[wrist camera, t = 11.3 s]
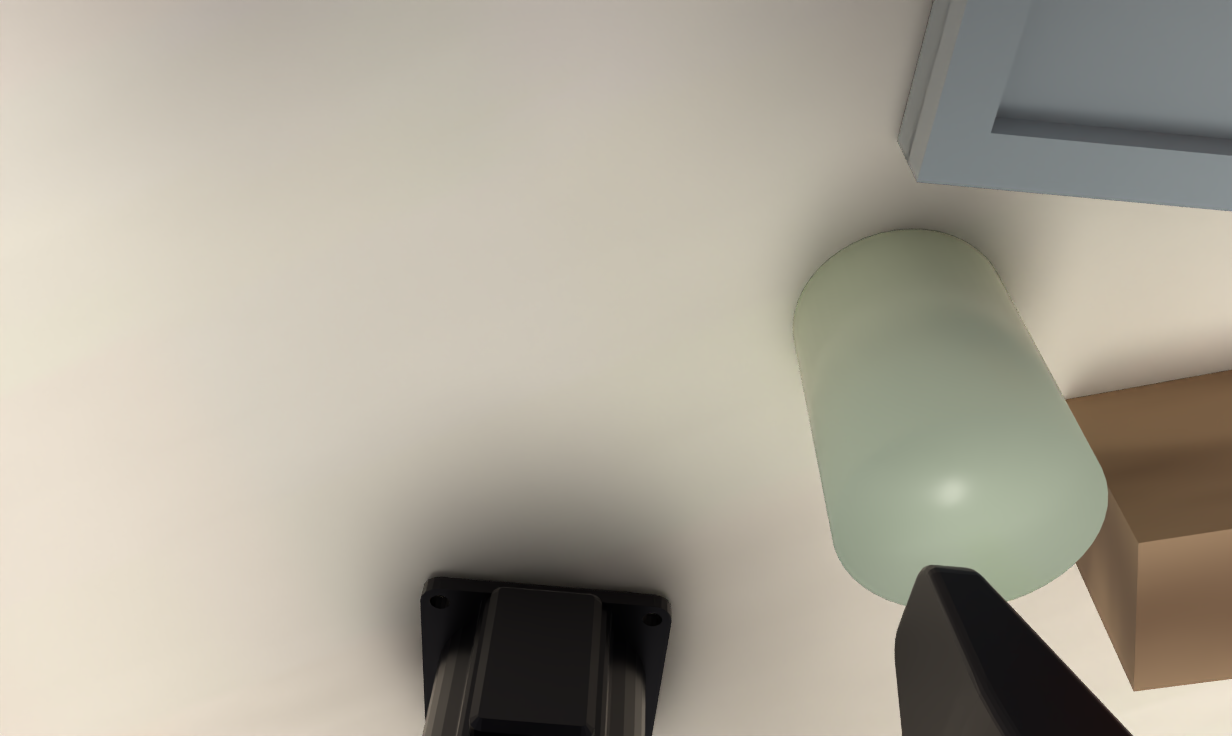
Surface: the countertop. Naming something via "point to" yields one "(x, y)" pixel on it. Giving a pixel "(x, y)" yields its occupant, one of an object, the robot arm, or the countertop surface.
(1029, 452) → the sage green capsule
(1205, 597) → the walnut block
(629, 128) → the countertop surface
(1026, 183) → the dish
